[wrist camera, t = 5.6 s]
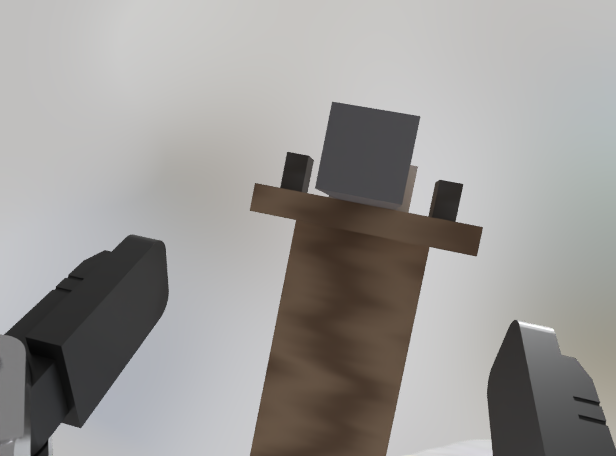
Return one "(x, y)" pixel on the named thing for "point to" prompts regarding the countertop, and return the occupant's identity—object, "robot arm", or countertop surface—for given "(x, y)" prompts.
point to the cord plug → (369, 157)
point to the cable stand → (345, 314)
